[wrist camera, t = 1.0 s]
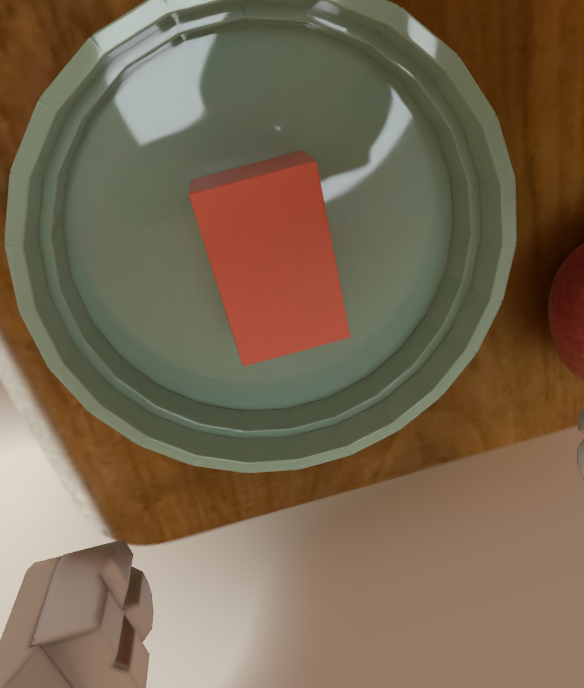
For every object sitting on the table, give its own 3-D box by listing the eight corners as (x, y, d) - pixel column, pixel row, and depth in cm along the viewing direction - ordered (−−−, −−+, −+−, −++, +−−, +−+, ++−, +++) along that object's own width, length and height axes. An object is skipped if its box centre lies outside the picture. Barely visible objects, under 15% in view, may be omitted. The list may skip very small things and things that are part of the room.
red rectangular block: (190, 179, 20) (188, 194, 18) (302, 150, 20) (316, 160, 18) (239, 334, 23) (243, 367, 21) (334, 308, 24) (350, 337, 21)
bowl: (-53, 64, 18) (-116, 60, 14) (453, -65, 18) (512, -100, 15) (137, 459, 26) (127, 517, 23) (479, 365, 27) (520, 408, 23)
